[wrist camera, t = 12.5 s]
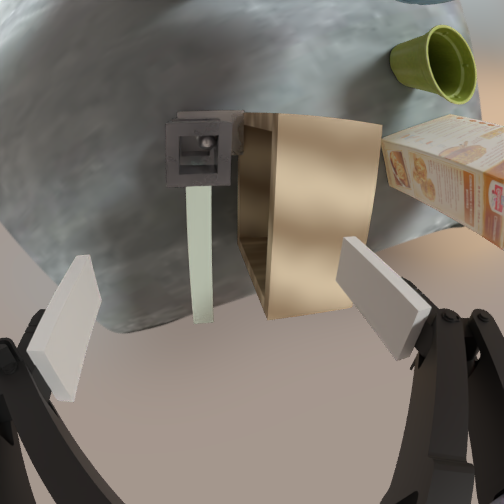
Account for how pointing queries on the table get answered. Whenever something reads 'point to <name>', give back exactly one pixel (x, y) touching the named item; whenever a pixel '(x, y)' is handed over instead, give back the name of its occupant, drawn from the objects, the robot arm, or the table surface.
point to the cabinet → (298, 201)
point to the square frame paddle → (199, 197)
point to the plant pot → (437, 64)
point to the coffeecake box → (452, 170)
